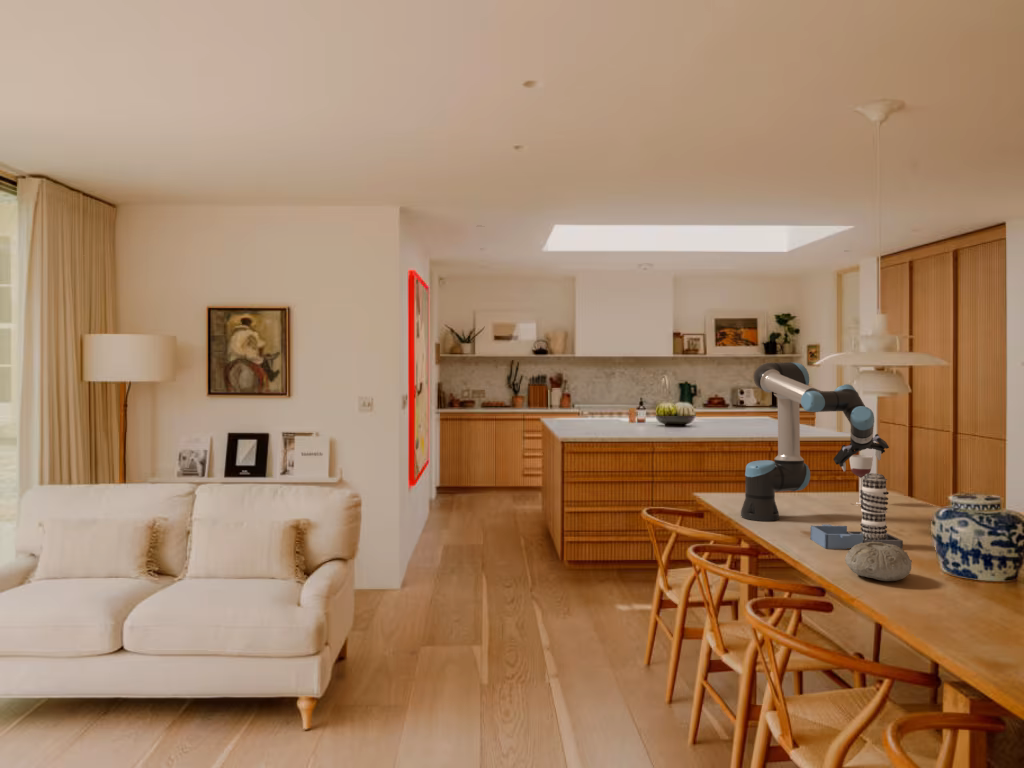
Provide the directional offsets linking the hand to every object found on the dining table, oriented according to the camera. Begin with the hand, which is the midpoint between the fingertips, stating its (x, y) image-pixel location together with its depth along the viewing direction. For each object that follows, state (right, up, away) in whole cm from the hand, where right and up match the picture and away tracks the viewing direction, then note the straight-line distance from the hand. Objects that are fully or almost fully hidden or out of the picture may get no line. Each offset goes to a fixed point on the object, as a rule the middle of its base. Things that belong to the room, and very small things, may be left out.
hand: (860, 462), depth 285 cm
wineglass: (+22, -24, +46) cm, 56 cm away
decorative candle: (-9, -26, -28) cm, 39 cm away
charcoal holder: (-9, -26, -28) cm, 39 cm away
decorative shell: (-27, -27, -67) cm, 77 cm away
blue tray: (-22, -26, -27) cm, 44 cm away
